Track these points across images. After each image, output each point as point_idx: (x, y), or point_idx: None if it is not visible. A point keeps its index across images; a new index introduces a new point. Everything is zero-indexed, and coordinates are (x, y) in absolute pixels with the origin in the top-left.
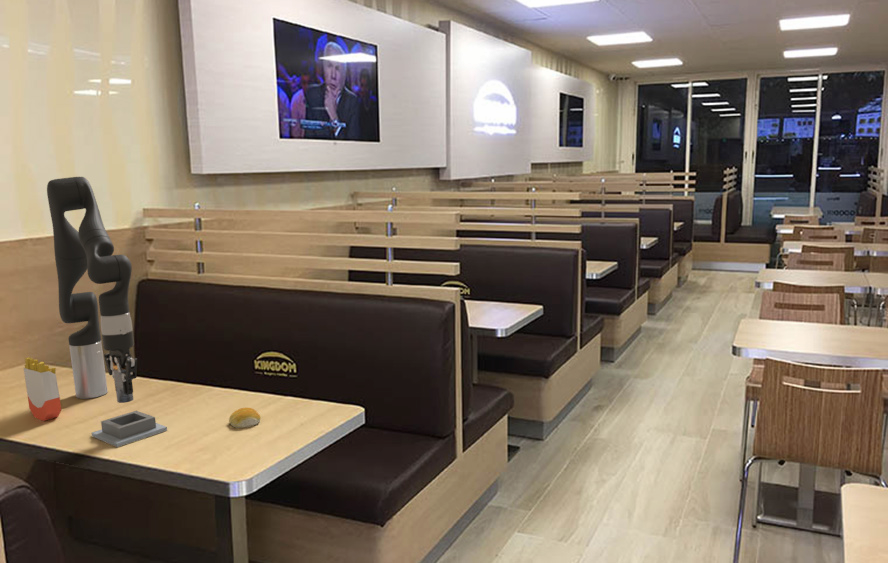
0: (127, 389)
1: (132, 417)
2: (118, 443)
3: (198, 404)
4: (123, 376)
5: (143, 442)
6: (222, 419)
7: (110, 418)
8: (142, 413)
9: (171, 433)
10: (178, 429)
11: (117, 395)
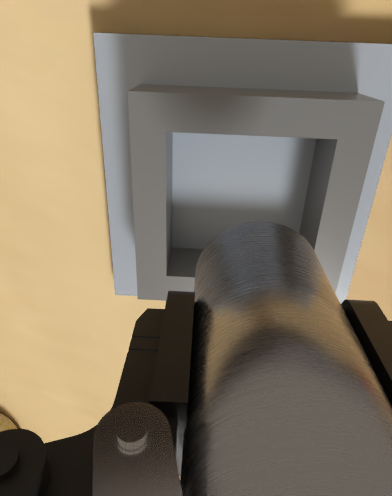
0: (133, 335)
1: None
2: (95, 43)
3: None
4: (104, 491)
5: (59, 153)
6: (60, 420)
7: (365, 167)
8: None
9: (69, 275)
10: (91, 310)
11: (270, 253)
